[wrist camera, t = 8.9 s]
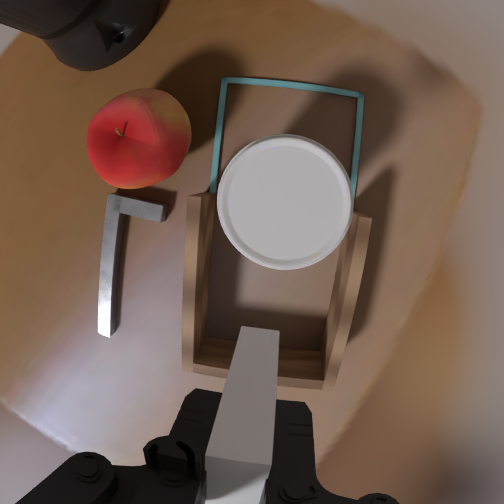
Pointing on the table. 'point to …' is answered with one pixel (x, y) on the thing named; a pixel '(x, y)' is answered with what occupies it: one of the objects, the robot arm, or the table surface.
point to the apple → (138, 138)
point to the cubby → (289, 360)
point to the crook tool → (119, 250)
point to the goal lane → (287, 85)
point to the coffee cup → (285, 201)
